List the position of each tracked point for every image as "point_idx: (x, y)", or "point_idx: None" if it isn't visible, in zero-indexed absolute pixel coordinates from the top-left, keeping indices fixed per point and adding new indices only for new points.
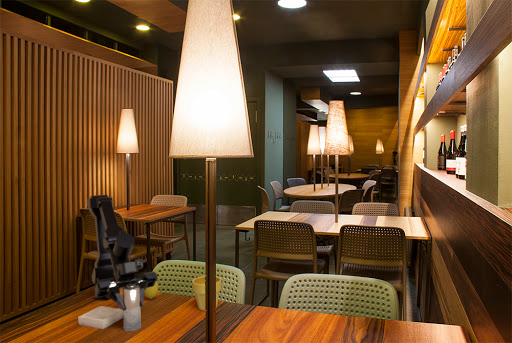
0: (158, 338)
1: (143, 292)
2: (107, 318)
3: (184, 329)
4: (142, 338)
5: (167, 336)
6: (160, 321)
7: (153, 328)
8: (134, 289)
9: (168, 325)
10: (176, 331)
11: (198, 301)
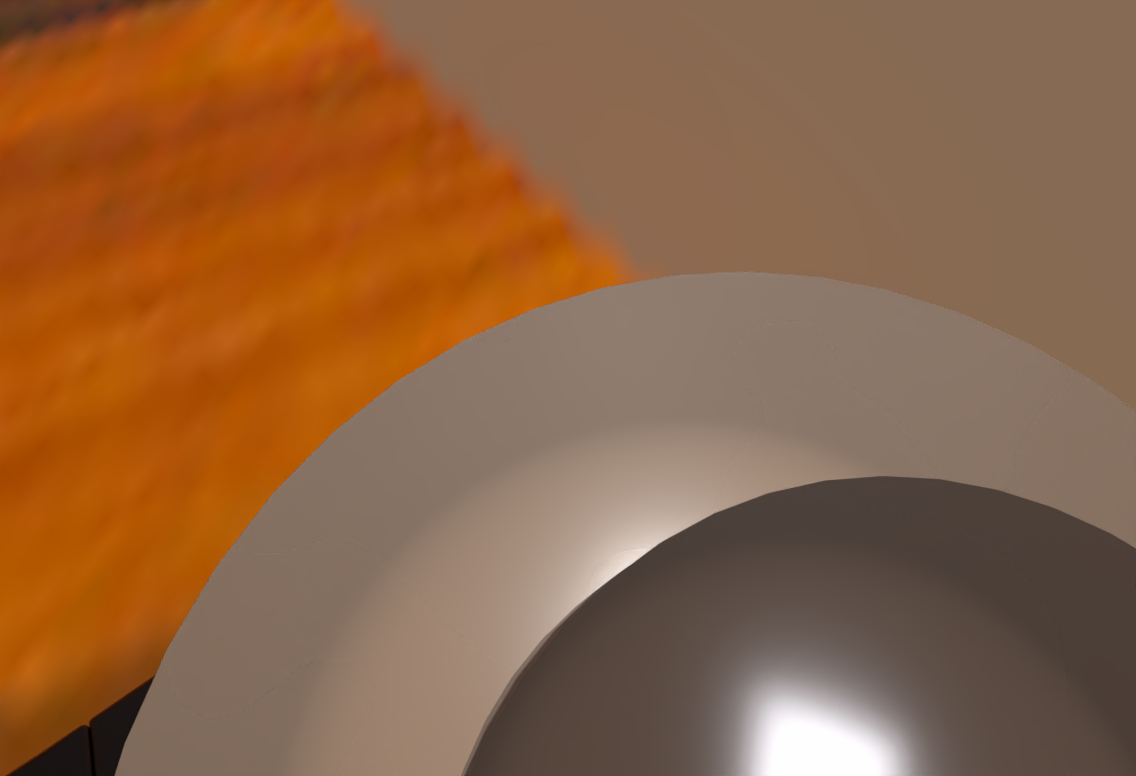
0: (474, 122)
1: (20, 774)
2: None
3: (66, 88)
4: (623, 264)
5: (361, 88)
6: (68, 597)
7: (332, 431)
8: (743, 419)
9: (105, 355)
10: (182, 116)
11: None
